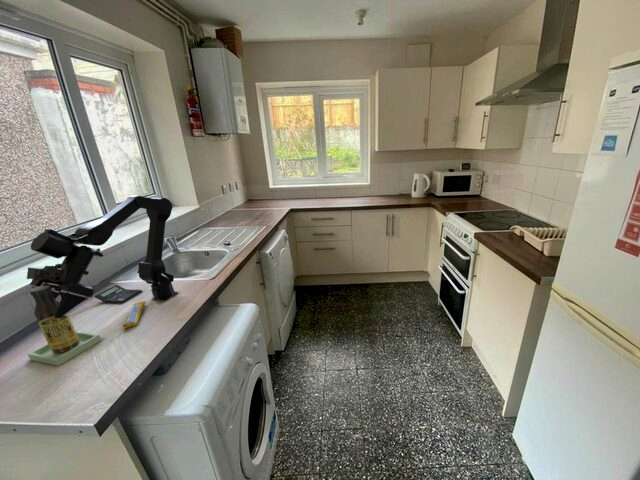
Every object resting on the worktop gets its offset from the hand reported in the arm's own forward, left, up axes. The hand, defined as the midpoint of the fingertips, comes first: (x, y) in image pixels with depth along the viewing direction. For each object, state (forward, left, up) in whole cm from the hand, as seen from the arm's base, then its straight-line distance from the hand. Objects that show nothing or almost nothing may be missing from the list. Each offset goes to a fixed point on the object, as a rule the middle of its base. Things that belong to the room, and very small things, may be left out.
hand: (46, 315), depth 81 cm
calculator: (-30, -17, -12) cm, 36 cm away
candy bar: (-19, +4, -12) cm, 23 cm away
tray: (-1, 0, -12) cm, 12 cm away
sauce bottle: (-1, 0, -12) cm, 12 cm away
